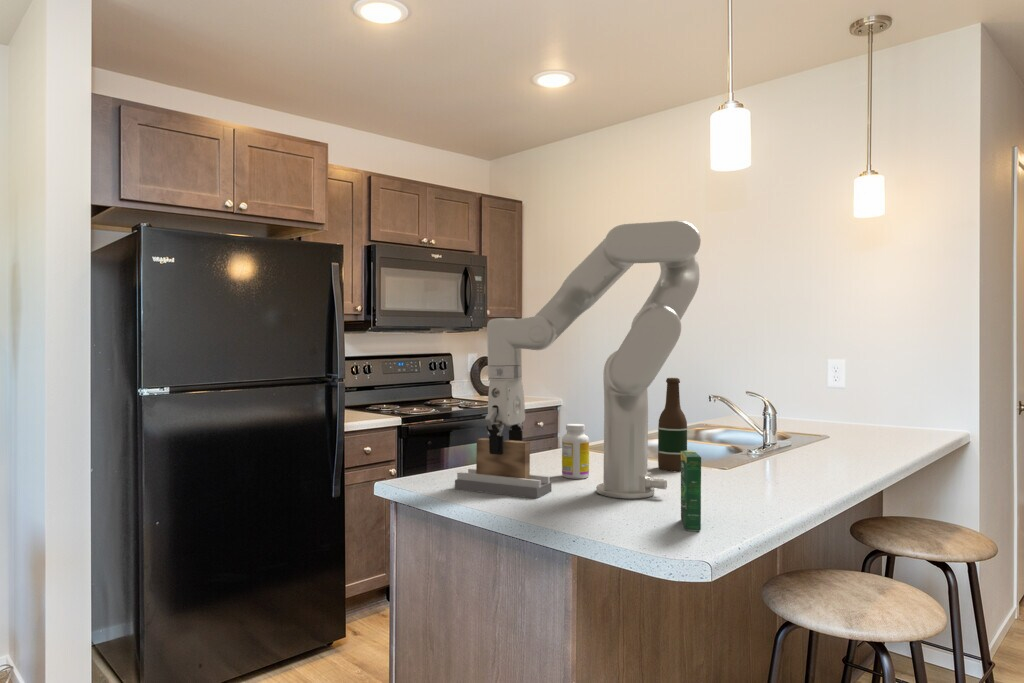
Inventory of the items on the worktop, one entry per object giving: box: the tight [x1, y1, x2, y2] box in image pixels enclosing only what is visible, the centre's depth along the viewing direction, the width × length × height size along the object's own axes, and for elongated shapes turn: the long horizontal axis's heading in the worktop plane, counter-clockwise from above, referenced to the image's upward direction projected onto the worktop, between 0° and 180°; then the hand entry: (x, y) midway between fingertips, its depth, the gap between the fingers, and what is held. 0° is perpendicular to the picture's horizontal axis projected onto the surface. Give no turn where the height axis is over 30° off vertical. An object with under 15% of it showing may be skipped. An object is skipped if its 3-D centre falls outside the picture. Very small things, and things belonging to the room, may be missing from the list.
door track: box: [454, 467, 553, 499], centre depth 149 cm, size 20×8×4 cm, turn 64°
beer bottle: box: [657, 377, 688, 473], centre depth 177 cm, size 8×8×24 cm
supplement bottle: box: [561, 423, 590, 480], centre depth 165 cm, size 7×7×13 cm
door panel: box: [475, 437, 531, 479], centre depth 149 cm, size 12×2×9 cm, turn 64°
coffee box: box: [680, 450, 702, 532], centre depth 122 cm, size 8×3×13 cm, turn 172°
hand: (506, 450), depth 149 cm, fingers open, 9 cm apart
